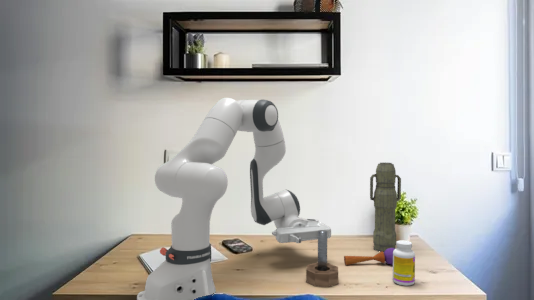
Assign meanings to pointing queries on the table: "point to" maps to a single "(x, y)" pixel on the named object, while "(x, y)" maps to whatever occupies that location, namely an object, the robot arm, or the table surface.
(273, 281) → the table surface
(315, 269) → the bead
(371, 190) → the thermos
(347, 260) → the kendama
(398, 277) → the supplement bottle
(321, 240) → the grey metal peg
